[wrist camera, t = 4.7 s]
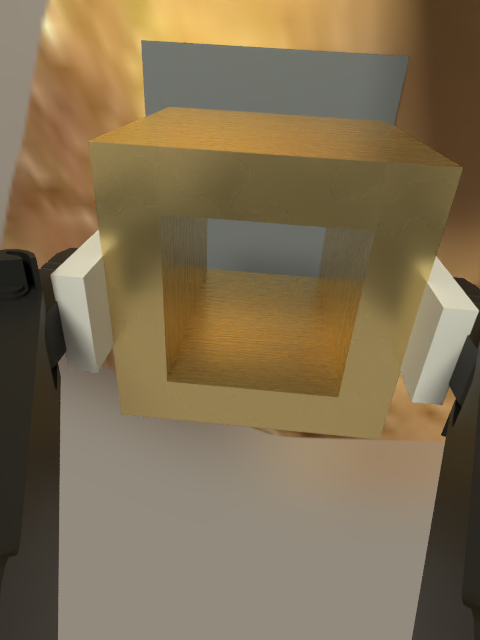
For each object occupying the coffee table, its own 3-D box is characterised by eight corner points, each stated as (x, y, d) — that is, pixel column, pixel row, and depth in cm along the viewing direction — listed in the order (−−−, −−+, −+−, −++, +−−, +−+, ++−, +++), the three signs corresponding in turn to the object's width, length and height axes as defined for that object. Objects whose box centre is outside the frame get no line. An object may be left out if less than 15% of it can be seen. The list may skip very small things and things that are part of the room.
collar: (385, 121, 16) (463, 167, 9) (345, 309, 20) (379, 439, 13) (169, 106, 16) (88, 141, 9) (174, 295, 20) (121, 414, 14)
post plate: (402, 56, 25) (489, 57, 15) (338, 359, 37) (362, 475, 27) (147, 41, 26) (64, 32, 16) (163, 344, 37) (121, 453, 27)
